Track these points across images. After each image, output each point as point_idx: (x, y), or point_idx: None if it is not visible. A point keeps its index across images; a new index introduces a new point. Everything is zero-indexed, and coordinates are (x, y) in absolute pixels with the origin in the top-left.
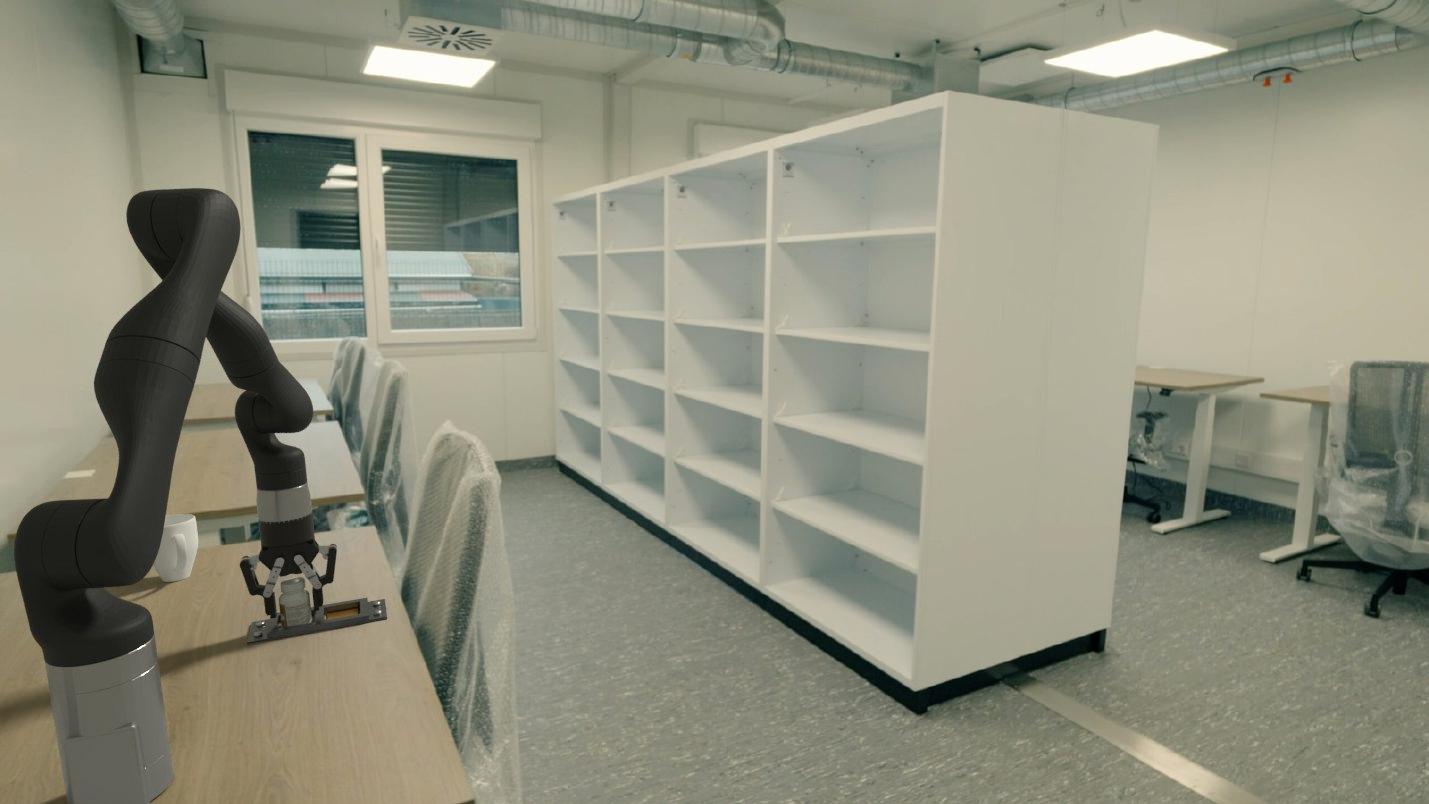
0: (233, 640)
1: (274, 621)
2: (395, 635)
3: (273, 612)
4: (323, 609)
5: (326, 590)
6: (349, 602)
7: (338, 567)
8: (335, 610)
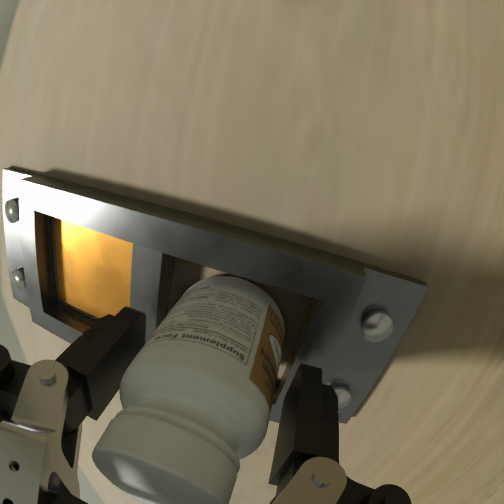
0: (434, 348)
1: None
2: (19, 40)
3: (307, 382)
4: None
5: None
6: (65, 328)
7: None
8: None
